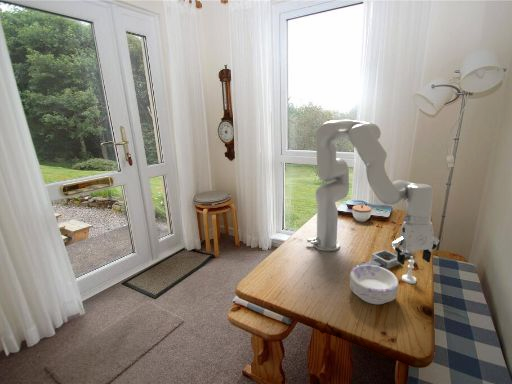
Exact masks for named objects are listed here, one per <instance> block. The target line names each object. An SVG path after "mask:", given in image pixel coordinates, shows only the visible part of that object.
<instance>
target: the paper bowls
mask: <svg viewBox="0 0 512 384" xmlns="http://www.w3.org/2000/svg"><path fill="white" fill-rule="evenodd" d="M355 266H356V265H355ZM355 266H354V267H353V268H352V269H351V270H350V275H349V286H350V289H351V291H352V292H353V293H354V295H356V296H357V297H359V299H361V300H362V301H364V302H366V303H368V304H372V305H383V304H385V303H390V302H392V301H394V300H395V299H396V298H397V296H398V291H399V283H400V282H399V278H397V276H396V275H395V274H394V273H393V272H392V271H391V270H389V269H386V268H384V267H379V266H375V265H360V266H356V267H355Z"/></svg>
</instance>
